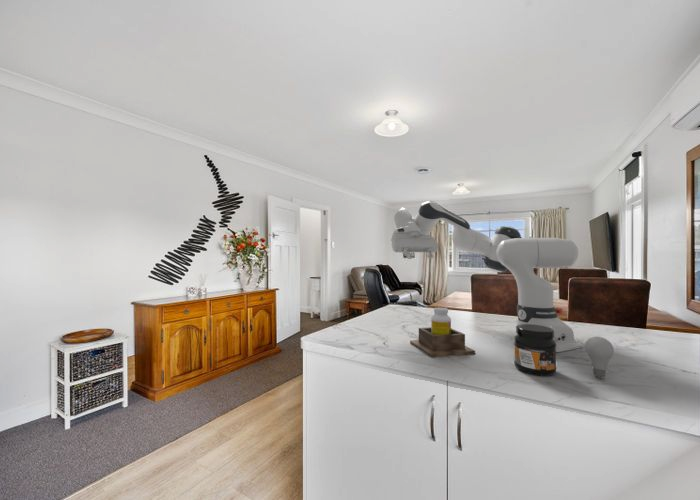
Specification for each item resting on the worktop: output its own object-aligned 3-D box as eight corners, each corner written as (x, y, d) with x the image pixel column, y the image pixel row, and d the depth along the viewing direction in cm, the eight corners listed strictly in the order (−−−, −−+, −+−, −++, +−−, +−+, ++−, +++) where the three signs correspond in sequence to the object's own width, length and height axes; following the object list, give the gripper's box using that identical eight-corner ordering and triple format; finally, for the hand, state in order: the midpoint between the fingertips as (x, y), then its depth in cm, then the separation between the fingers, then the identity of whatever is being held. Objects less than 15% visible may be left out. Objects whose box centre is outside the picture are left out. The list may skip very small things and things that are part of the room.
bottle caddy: (448, 340, 118) (448, 324, 118) (475, 353, 103) (475, 335, 103) (410, 343, 114) (410, 326, 115) (431, 357, 99) (431, 338, 99)
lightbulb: (579, 373, 86) (579, 334, 86) (599, 373, 86) (599, 333, 87) (598, 383, 80) (598, 340, 80) (620, 382, 80) (620, 339, 80)
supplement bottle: (452, 348, 105) (452, 310, 105) (431, 347, 106) (431, 310, 106) (449, 343, 111) (449, 307, 111) (430, 341, 113) (430, 306, 113)
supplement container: (521, 375, 85) (521, 331, 85) (508, 362, 95) (508, 323, 95) (564, 378, 83) (564, 333, 83) (546, 364, 93) (546, 324, 93)
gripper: (429, 240, 142) (440, 262, 133) (387, 240, 137) (396, 263, 128) (434, 230, 138) (446, 252, 128) (391, 229, 133) (400, 252, 124)
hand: (420, 257), depth 128 cm, fingers open, 8 cm apart
